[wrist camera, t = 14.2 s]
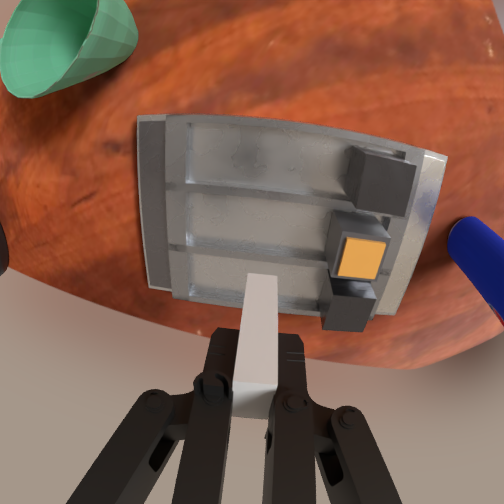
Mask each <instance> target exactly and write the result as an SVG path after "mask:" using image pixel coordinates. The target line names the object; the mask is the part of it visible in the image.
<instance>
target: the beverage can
mask: <svg viewBox="0 0 504 504" xmlns="http://www.w3.org/2000/svg"><path fill="white" fill-rule="evenodd" d="M447 248H448V253H449V255H450V257H451V258H452V259H453V260H454V261H455V263H456V264H457V265H458V266H459V267H460V269H461V270H462V271H463V272H464V273H465V275H466V276H467V277H468V278H469V280H470V281H471V282H472V283H473V285H474V286H475V287H476V289H477V290H478V291H479V293H480V294H481V295H482V297H483V298H484V299H485V301H486V302H487V303H488V305H489V306H490V308H491V309H492V310H493V312H494V313H495V315H496V316H497V318H498V319H499V320H500V322H501V323H502V325H503V326H504V240H503V239H502V238H501V237H500V236H498V235H497V234H496V233H495V232H494V231H492V230H491V229H490V228H489V227H488V226H486V225H485V224H484V223H483V222H481V221H480V220H479V219H478V218H476V217H472V216H471V217H465V218H463V219H461V220H459V221H458V222H457V223H456V224H455V225H454V226H453V227H452V229H451V231H450V233H449V236H448V244H447Z"/></svg>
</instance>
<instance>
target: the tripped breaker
mask: <svg viewBox="0 0 504 504" xmlns="http://www.w3.org/2000/svg"><path fill="white" fill-rule="evenodd" d="M390 241H391V237H390V236H389V234H388V233H387V231H386V230H385V229H384V227H383V226H382V225H381V223H380V222H379V221H378V219H377V218H376V217H374V216H367V215H361V214H355V213H348V212H342V211H335V210H333V213H332V218H331V223H330V228H329V233H328V237H327V242H326V246H325V251H324V252H325V256H326V259H327V263H328V267H329V271H330V276H331V277H334V278H343V279H353V280H363V281H373V282H377V280H378V277H379V274H380V271H381V268H382V265H383V262H384V259H385V256H386V253H387V250H388V247H389V244H390Z"/></svg>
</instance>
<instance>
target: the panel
mask: <svg viewBox="0 0 504 504" xmlns="http://www.w3.org/2000/svg"><path fill="white" fill-rule="evenodd" d="M447 158H448V157H447V156H445V155H443V154H440V153H437V152H434V151H431V150H428V149H425V148H421V147H418V146H414V145H411V144H407V143H404V142H400V141H396V140H392V139H389V138H385V137H380V136H376V135H372V134H367V133H363V132H358V131H353V130H348V129H343V128H338V127H332V126H327V125H321V124H314V123H308V122H301V121H293V120H285V119H276V118H267V117H256V116H243V115H225V114H145V115H138V116H137V163H138V187H139V203H140V216H141V227H142V238H143V247H144V255H145V263H146V271H147V278H148V285H149V288H153V289H159V290H165V291H171V292H172V296H173V298H174V299H181V300H187V301H194V302H200V303H207V304H214V305H221V306H229V307H236V308H243V304H244V297H245V290H246V283H247V276H248V273H254V274H264V275H274V276H277V285H278V313H288V314H298V315H309V316H320V317H321V324H322V330H333V331H349V332H363V330H364V328H365V326H366V323H367V321H368V320H373V317H374V315H375V314H382V315H395V313H396V311H397V309H398V307H399V305H400V303H401V300H402V298H403V296H404V293H405V291H406V289H407V286H408V284H409V281H410V279H411V276H412V274H413V271H414V269H415V266H416V264H417V261H418V258H419V256H420V253H421V250H422V247H423V244H424V241H425V239H426V236H427V233H428V229H429V226H430V223H431V220H432V217H433V213H434V210H435V206H436V203H437V199H438V196H439V192H440V188H441V184H442V180H443V176H444V171H445V167H446V162H447ZM333 210H335V211H342V212H348V213H355V214H361V215H367V216H374V217H376V218H377V219H378V221H379V222H380V223H381V225H382V226H383V227H384V229H385V230H386V231H387V233H388V234H389V236H390V237H391V241H390V244H389V247H388V250H387V253H386V256H385V259H384V262H383V265H382V268H381V271H380V274H379V277H378V280H377V282H373V281H363V280H353V279H343V278H334V277H331V276H330V271H329V267H328V263H327V259H326V256H325V252H324V251H325V246H326V242H327V237H328V233H329V228H330V223H331V218H332V213H333Z"/></svg>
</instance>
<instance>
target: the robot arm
mask: <svg viewBox="0 0 504 504" xmlns="http://www.w3.org/2000/svg"><path fill="white" fill-rule="evenodd" d="M8 260H9V258H8V248H7V243H6V239H5V235H4V232H3V229H2V227H1V224H0V276H1V275H2V274H3V273H4V272H5V271H6V270H7V267H8ZM193 385H194V390H193V391H191V392H189V393H186V394H180V395H169V394H167V393H166V392H165V391H163V390H158V389H151V390H148V391H146V392H144V393H143V394H142V395H140V396H139V398H138V399H137V401H136V402H135V404H134V405H133V406H132V408H131V409H130V411H129V413H128V414H127V415H126V417H125V418H124V419H123V421H122V422H121V424H120V425H119V427H118V428H117V430H116V431H115V432H114V434H113V435H112V437H111V438H110V440H109V441H108V443H107V444H106V445H105V447H104V448H103V450H102V451H101V453H100V454H99V456H98V457H97V459H96V460H95V461H94V463H93V464H92V466H91V468H90V469H89V470H88V472H87V473H86V475H85V476H84V478H83V479H82V481H81V482H80V484H79V485H78V486H77V488H76V489H75V491H74V492H73V494H72V495H71V497H70V498H69V500H68V501H67V503H66V504H144V502H145V501H146V499H147V497H148V495H149V494H150V492H151V490H152V488H153V486H154V485H155V483H156V481H157V480H158V478H159V476H160V474H161V473H162V471H163V469H164V467H165V465H166V464H167V462H168V460H169V458H170V456H171V455H172V453H173V451H174V449H175V447H176V446H177V444H178V442H179V440H185V441H184V446H183V451H182V455H181V460H180V464H179V470H178V474H177V479H176V484H175V489H174V494H173V499H172V504H221V499H222V491H223V482H224V475H225V466H226V459H227V451H228V443H229V435H230V424H231V416H235V417H244V418H254V419H268V417H269V419H268V428H267V432H266V434H265V439H266V451H265V468H264V469H265V470H264V485H263V501H262V504H316V480H315V479H316V478H315V457H316V461H317V464H318V467H319V470H320V472H321V476H322V478H323V482H324V485H325V488H326V491H327V493H328V496H329V500H330V503H331V504H402V502H401V500H400V497H399V495H398V492H397V490H396V488H395V485H394V483H393V480H392V478H391V476H390V473H389V471H388V469H387V466H386V464H385V462H384V460H383V457H382V455H381V453H380V451H379V448H378V446H377V444H376V441H375V439H374V437H373V435H372V433H371V430H370V428H369V426H368V424H367V421H366V419H365V417H364V415H363V414H362V412H361V411H360V410H358V409H357V408H355V407H352V406H342V407H339V408H337V409H336V410H334V409H330V408H327V407H323V406H321V405H318V404H316V403H315V402H314V401H313V400H312V399H311V398H310V396H309V394H308V391H307V382H306V369H305V356H304V344H303V342H302V340H301V338H300V337H299V335H298V334H285V333H278V285H277V276H274V275H264V274H254V273H248V276H247V283H246V290H245V297H244V304H243V312H242V319H241V326H240V330H236V329H227V328H219V327H218V328H217V329H216V330H215V332H214V333H213V334H212V335H211V339H210V344H209V348H208V352H207V356H206V360H205V365H204V370H203V372H202V373H200V374H199V375H198V376H197V377H196V378H195V380H194V382H193Z"/></svg>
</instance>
